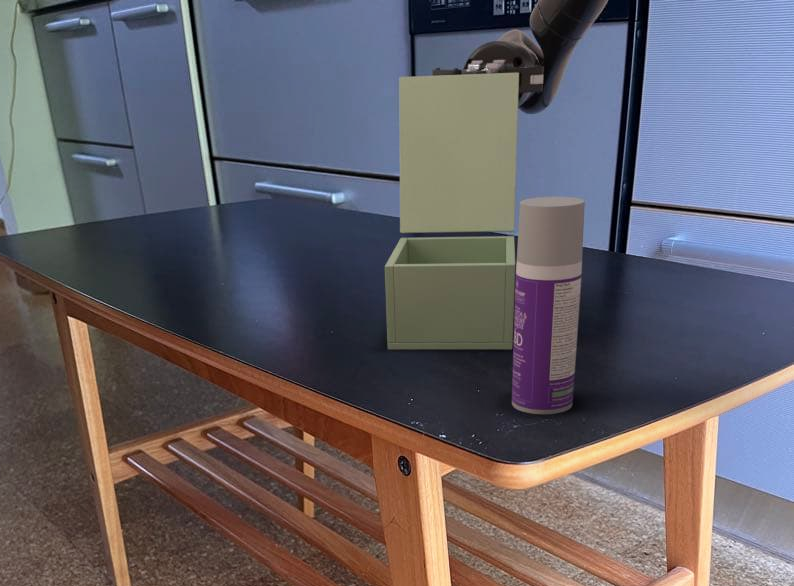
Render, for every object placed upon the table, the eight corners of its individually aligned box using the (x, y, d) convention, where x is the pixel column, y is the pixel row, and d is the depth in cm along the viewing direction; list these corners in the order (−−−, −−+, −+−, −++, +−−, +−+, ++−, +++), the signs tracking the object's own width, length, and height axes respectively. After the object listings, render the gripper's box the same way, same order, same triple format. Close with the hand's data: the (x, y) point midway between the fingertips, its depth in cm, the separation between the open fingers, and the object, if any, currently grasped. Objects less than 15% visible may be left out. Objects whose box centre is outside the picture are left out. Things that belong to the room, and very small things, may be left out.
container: (499, 405, 68) (504, 202, 61) (541, 391, 71) (551, 194, 64) (542, 421, 65) (553, 208, 58) (585, 406, 67) (601, 200, 60)
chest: (512, 351, 80) (515, 264, 77) (387, 351, 82) (384, 266, 78) (511, 312, 92) (514, 235, 88) (402, 313, 94) (400, 237, 90)
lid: (519, 72, 84) (518, 74, 85) (399, 76, 85) (400, 78, 86) (514, 230, 88) (514, 231, 89) (400, 232, 89) (400, 233, 90)
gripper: (446, 43, 103) (406, 44, 89) (559, 38, 100) (537, 39, 85) (446, 113, 107) (408, 125, 92) (555, 111, 103) (533, 124, 89)
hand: (470, 84), depth 89 cm, fingers closed
